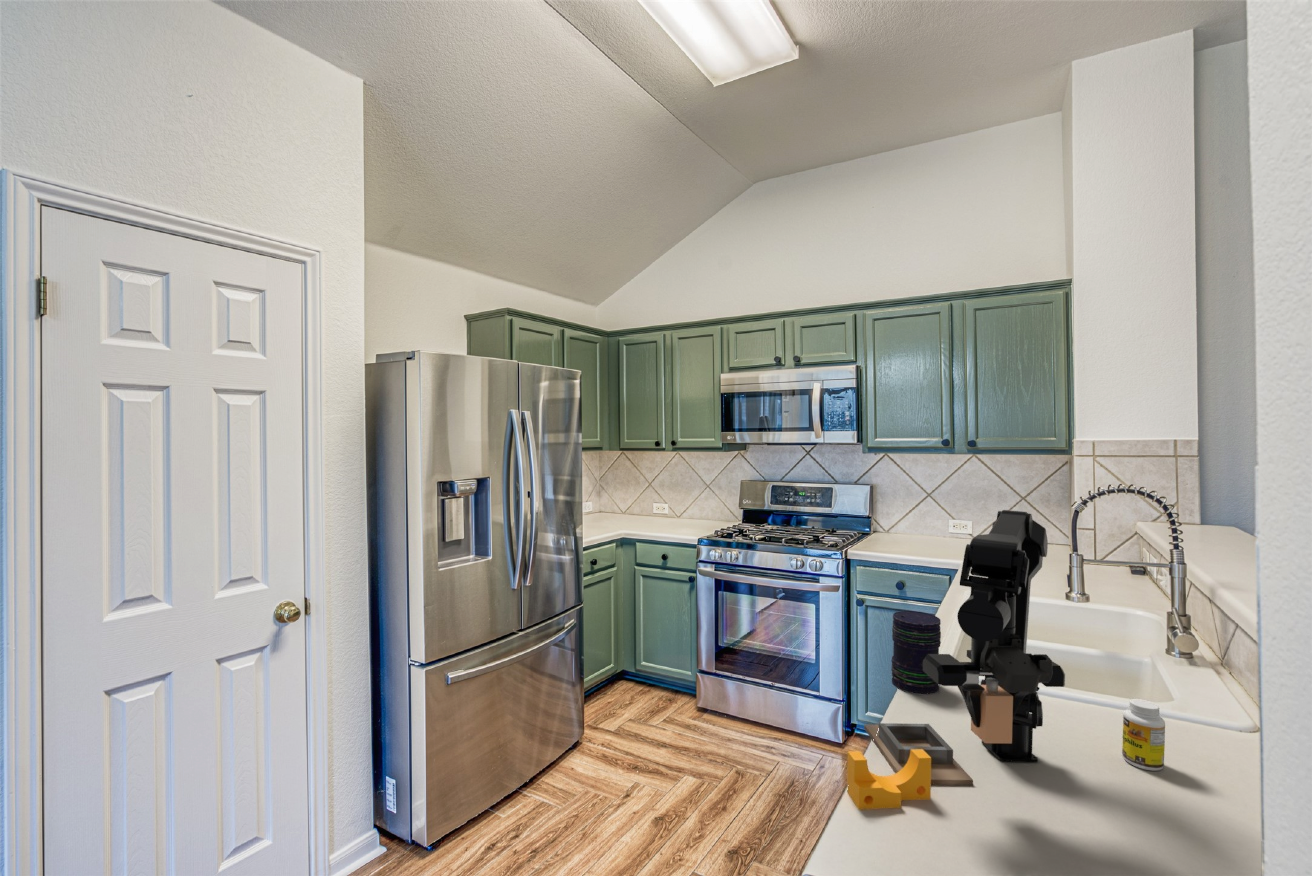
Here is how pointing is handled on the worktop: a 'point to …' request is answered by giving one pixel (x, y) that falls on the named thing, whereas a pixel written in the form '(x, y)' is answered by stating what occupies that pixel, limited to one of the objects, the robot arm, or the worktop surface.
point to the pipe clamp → (888, 782)
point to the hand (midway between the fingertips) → (990, 726)
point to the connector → (995, 714)
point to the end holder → (904, 737)
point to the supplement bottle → (1143, 735)
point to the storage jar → (914, 650)
